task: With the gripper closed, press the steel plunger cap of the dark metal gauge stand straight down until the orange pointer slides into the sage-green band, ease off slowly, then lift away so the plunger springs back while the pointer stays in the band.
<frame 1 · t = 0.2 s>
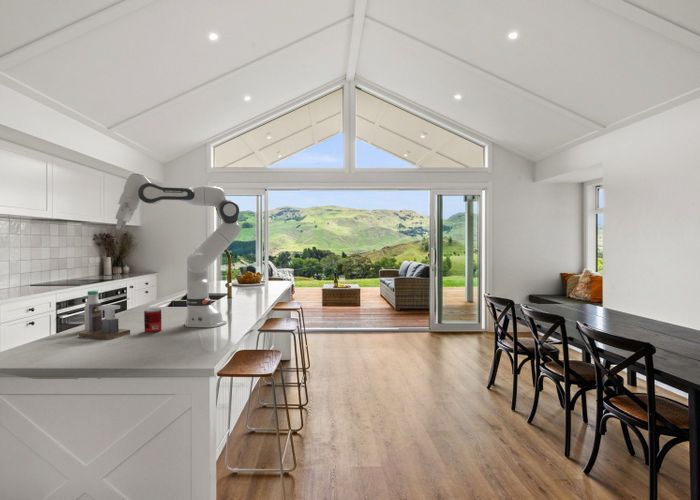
hand: (119, 229, 219), 52 cm above the countertop, tool tilted 20°, fingers open, 8 cm apart
milk bottle: (93, 330, 218), on the countertop
plunger: (106, 314, 206), point 10 cm above the countertop, slide at 0.1 cm
pointer: (98, 309, 207), point 12 cm above the countertop, slide at 0.0 cm
canned food: (153, 331, 215), on the countertop
gauge stand: (104, 335, 206), on the countertop
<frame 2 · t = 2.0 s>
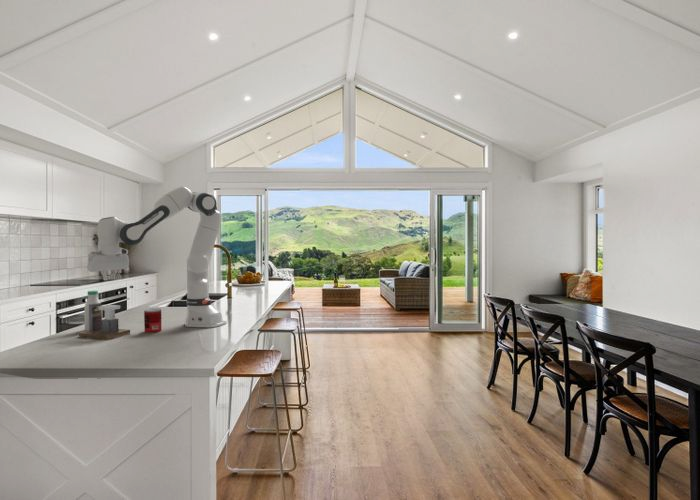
hand: (109, 279, 204), 27 cm above the countertop, tool pointing down, fingers closed
nothing on the countertop moved.
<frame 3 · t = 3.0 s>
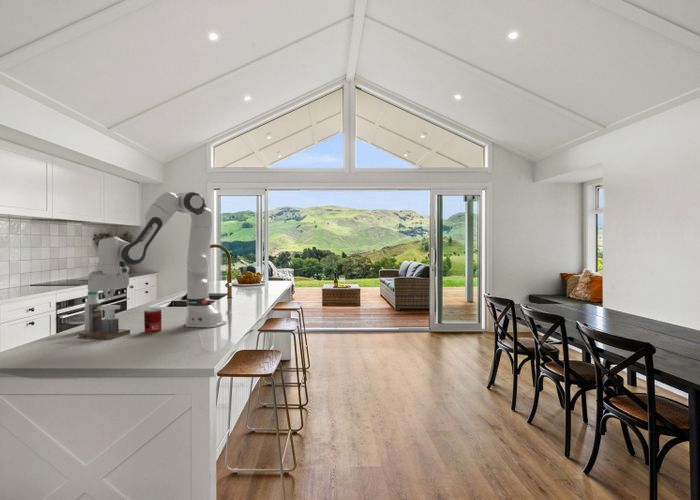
hand: (109, 298, 205), 18 cm above the countertop, tool pointing down, fingers closed
nothing on the countertop moved.
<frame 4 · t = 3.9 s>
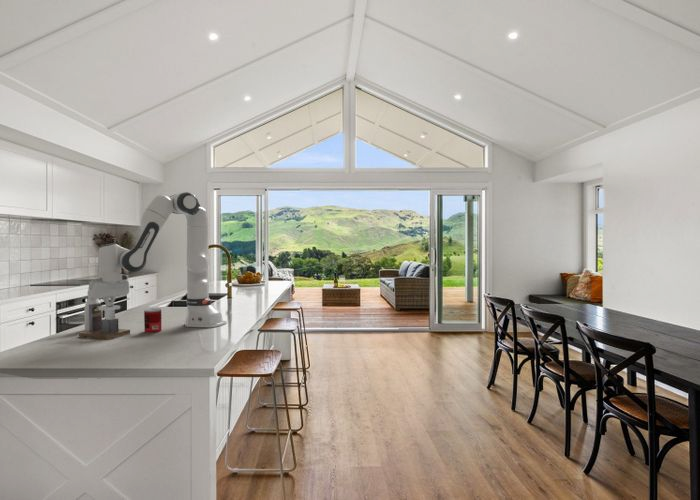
hand: (109, 306, 205), 14 cm above the countertop, tool pointing down, fingers closed, pressing on plunger
plunger: (106, 314, 206), point 10 cm above the countertop, slide at 0.2 cm, touching gripper
everything else where it was.
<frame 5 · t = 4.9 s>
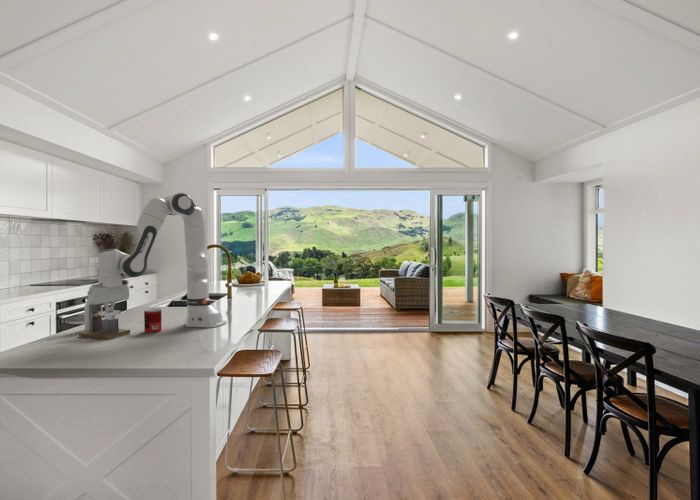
hand: (109, 311, 205), 12 cm above the countertop, tool pointing down, fingers closed, pressing on plunger
plunger: (106, 319, 206), point 8 cm above the countertop, slide at 2.6 cm, touching gripper, pointer
pointer: (98, 314, 207), point 10 cm above the countertop, slide at 2.4 cm, touching plunger
everything else where it was.
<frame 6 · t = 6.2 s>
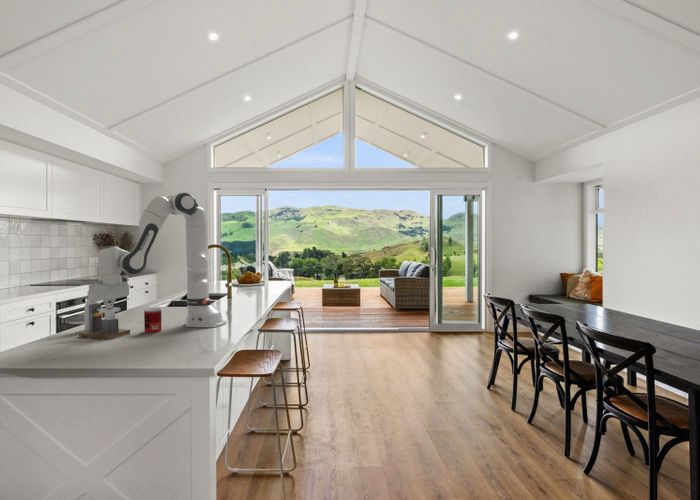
hand: (109, 308, 205), 13 cm above the countertop, tool pointing down, fingers closed, pressing on plunger
plunger: (106, 316, 206), point 9 cm above the countertop, slide at 1.2 cm, touching gripper
pointer: (98, 314, 207), point 10 cm above the countertop, slide at 2.4 cm
everything else where it was.
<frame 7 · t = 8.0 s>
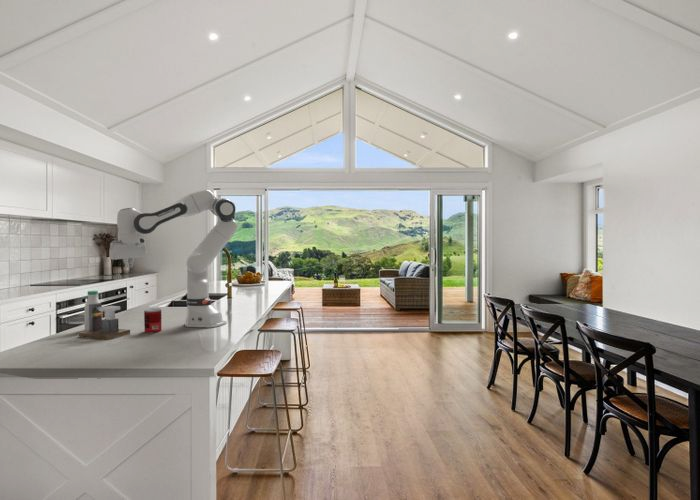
hand: (129, 267, 217), 32 cm above the countertop, tool pointing down, fingers closed
plunger: (106, 315, 206), point 10 cm above the countertop, slide at 0.5 cm
everything else where it was.
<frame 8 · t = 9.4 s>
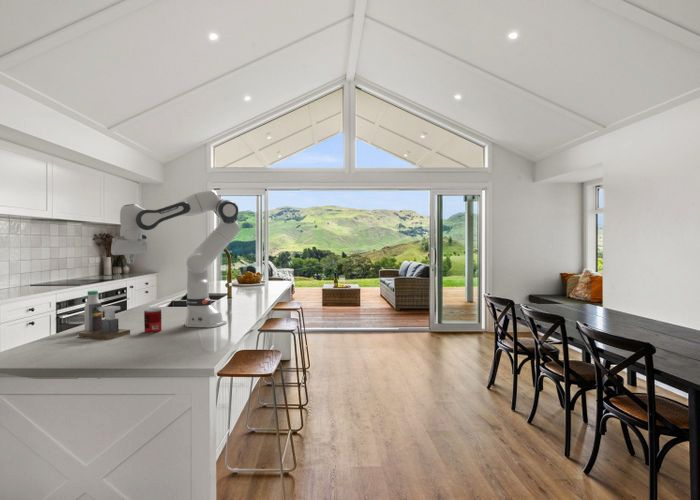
hand: (130, 263, 218), 34 cm above the countertop, tool pointing down, fingers closed
nothing on the countertop moved.
at the end: pointer slide at 2.4 cm; plunger slide at 0.5 cm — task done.
